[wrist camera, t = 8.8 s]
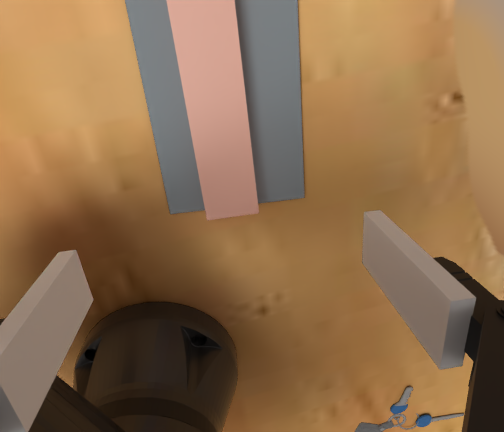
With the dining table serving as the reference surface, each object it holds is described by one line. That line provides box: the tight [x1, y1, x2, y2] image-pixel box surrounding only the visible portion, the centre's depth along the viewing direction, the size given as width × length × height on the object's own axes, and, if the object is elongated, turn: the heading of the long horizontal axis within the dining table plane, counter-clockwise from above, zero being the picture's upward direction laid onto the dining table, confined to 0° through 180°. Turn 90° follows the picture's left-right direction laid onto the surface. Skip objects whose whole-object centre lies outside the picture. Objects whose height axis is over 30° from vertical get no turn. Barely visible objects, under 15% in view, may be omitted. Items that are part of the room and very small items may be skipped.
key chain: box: [355, 387, 464, 432], centre depth 42 cm, size 14×8×1 cm, turn 109°
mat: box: [125, 0, 305, 214], centre depth 26 cm, size 15×11×1 cm
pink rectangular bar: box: [166, 0, 259, 220], centre depth 24 cm, size 18×4×2 cm, turn 6°
